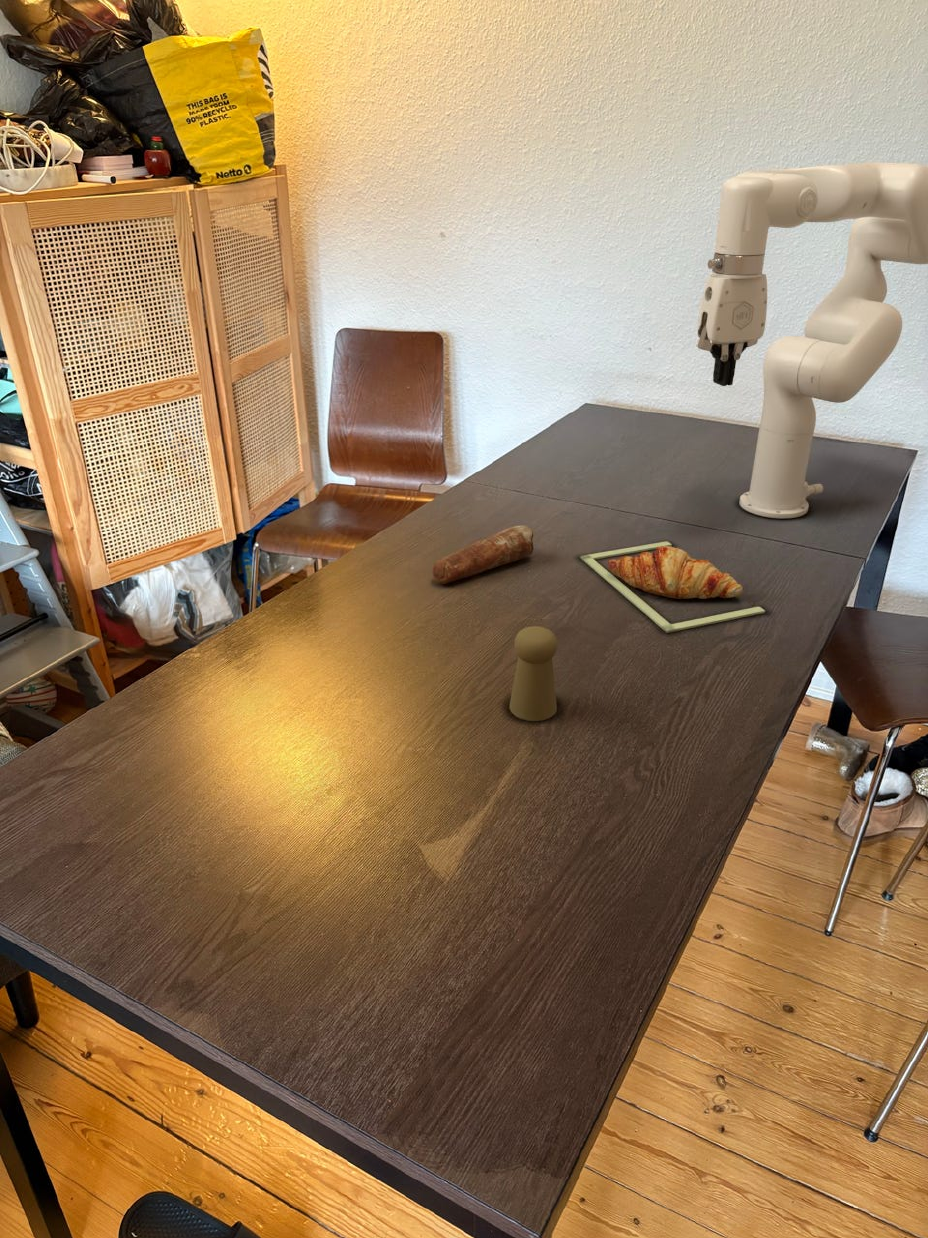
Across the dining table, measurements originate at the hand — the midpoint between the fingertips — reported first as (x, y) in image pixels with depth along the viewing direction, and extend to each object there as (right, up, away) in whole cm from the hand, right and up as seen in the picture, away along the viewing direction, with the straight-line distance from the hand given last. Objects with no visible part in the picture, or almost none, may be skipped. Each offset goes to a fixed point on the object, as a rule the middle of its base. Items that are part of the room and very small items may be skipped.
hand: (722, 383), depth 150 cm
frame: (-10, -33, -4) cm, 35 cm away
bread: (-39, -31, 0) cm, 50 cm away
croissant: (-10, -34, -6) cm, 36 cm away
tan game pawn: (-34, -50, -34) cm, 70 cm away
